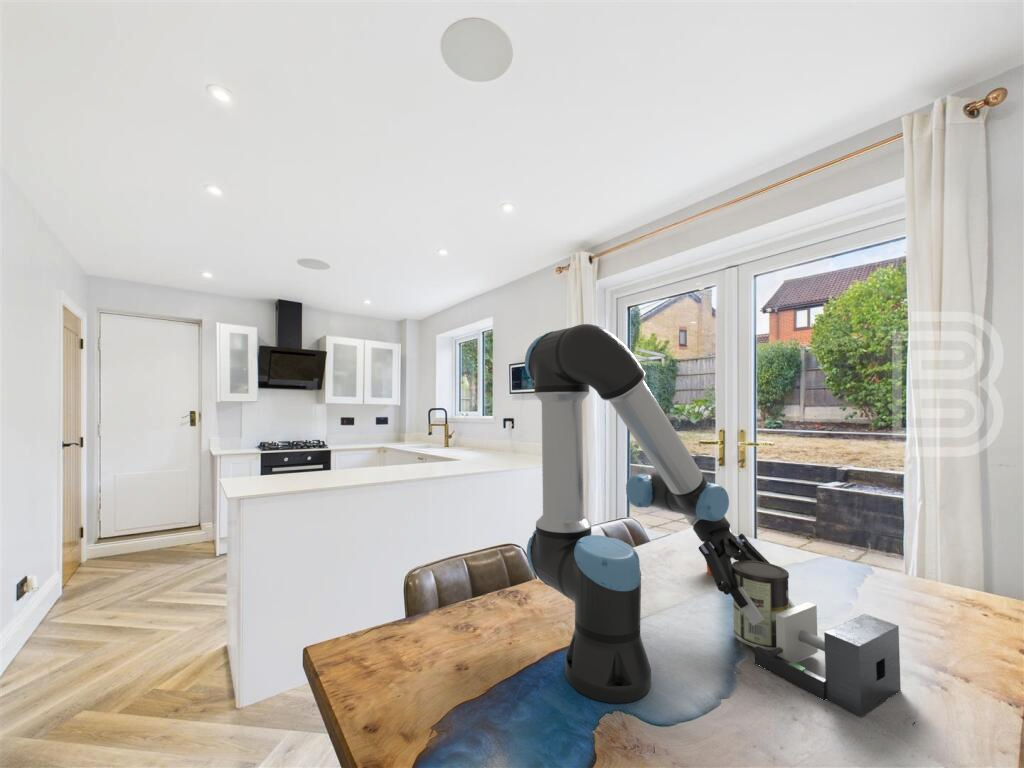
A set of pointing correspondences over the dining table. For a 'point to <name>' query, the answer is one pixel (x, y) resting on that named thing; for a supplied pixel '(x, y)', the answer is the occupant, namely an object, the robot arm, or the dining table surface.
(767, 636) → the coffee can
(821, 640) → the pressure pad
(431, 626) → the dining table surface
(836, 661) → the frame
